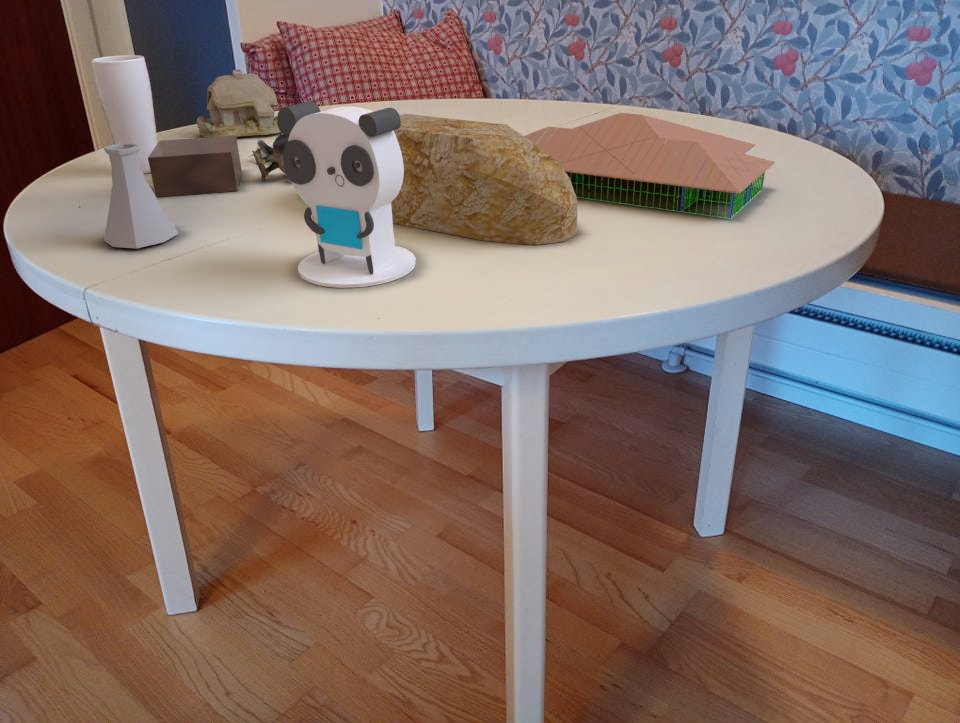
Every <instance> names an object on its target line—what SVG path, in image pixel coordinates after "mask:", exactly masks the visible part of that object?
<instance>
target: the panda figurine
mask: <svg viewBox="0 0 960 723" xmlns="http://www.w3.org/2000/svg"><path fill="white" fill-rule="evenodd" d="M399 115H400V113H399V112H398V110H397V109H395V108H393V107H385V108H382V109H378V110H374V111H373V110H370V109H368V108H364V107H360V106H351V105H346V106H338V107H334V108H329V109H327V110H321V109H320V107H319V106H318V104H317V103H316V102H315V101H313V100H309V101H305V102H301V103H297V104H292V105H288V106H284V107H282V108H280V109H279V111H278V112H277V115H276V116H277V125H278V128H279V130H280V131H281V132H280V133H281V135H283V134H284V135H289V139H288V142H286V144H285V147H284V153H283V164H284V170H285V173H284V175H285V174H286V175H285V176H286V178H287V179H288V180H289V182H290V181H291V182H292V183H291V185H292V187H293V188H294V190H295V192H296V194H297V195H298V196H299V197H300V199H301V200H302V201H303V202H304V203H305V204H306V205H307V206H308V207H306V208H305V209H304V213H303V219H304V222H305V224H306V226H307V227H308V228H309V229H310V230H311V231H312V233H315V237H316V243H317V249H318V250H317V251H315V252H312V253H310V254H309V255H307V256H306V257H303V259H301V260H300V261H299V263H298V265H297V272H298V275H299V276H300V277H301V279H303V280H304V281H306V282H308V283H310V284H313V285H317V286H321V287H326V288H337V289H354V288H355V289H356V288H366V287H372V286H378V285H382V284H387V283H390V282H393V281H396V280H398V279H400V278H403V277H404V276H406V275H408V274H410V273H411V272H412V270H413V269H415V267H416V263H417V260H416V256H415V255H414V254H413V252H412V251H410V250H409V249H407V248H404V247H401V246H398V245H396V243H395V234H394V223H393V220H392V207H391V202H392V201H393V200H394V199H395V198H396V196H397V195H398V193H399V191H400V189H401V186H402V183H403V177H404V165H403V158H402V154H401V150H400V146H399V143H398V140H397V138H396V135H395V133H394V131H393V130H396V129H399V128H400V125H401V121H400V116H399Z"/></svg>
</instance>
